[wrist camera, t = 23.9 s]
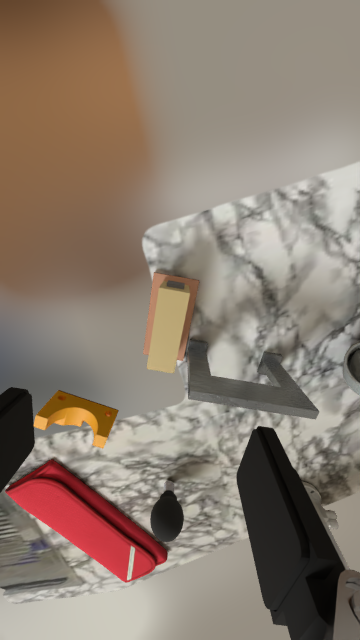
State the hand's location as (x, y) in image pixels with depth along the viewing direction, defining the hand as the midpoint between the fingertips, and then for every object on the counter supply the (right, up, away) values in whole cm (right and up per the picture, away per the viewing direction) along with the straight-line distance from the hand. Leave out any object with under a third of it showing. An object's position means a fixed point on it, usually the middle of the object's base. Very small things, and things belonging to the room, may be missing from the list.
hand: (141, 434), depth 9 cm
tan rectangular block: (0, +5, +25) cm, 26 cm away
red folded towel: (-20, -45, +44) cm, 66 cm away
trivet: (0, +5, +26) cm, 27 cm away
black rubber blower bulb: (-1, -31, +39) cm, 50 cm away
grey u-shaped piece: (+11, -2, +28) cm, 30 cm away
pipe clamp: (-17, -13, +33) cm, 39 cm away
